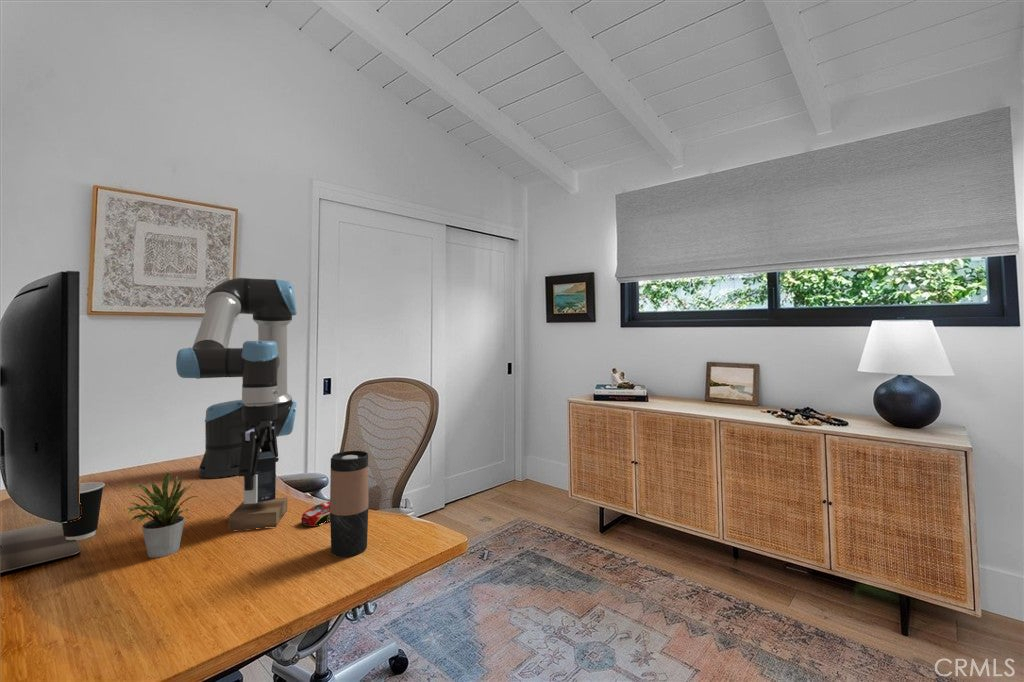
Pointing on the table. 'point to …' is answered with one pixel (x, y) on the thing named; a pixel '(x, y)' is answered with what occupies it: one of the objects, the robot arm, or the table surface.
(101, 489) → the dixie cup
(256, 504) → the walnut pedestal
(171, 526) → the house plant
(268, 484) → the box
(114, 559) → the table surface
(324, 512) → the race car
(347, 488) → the travel mug
